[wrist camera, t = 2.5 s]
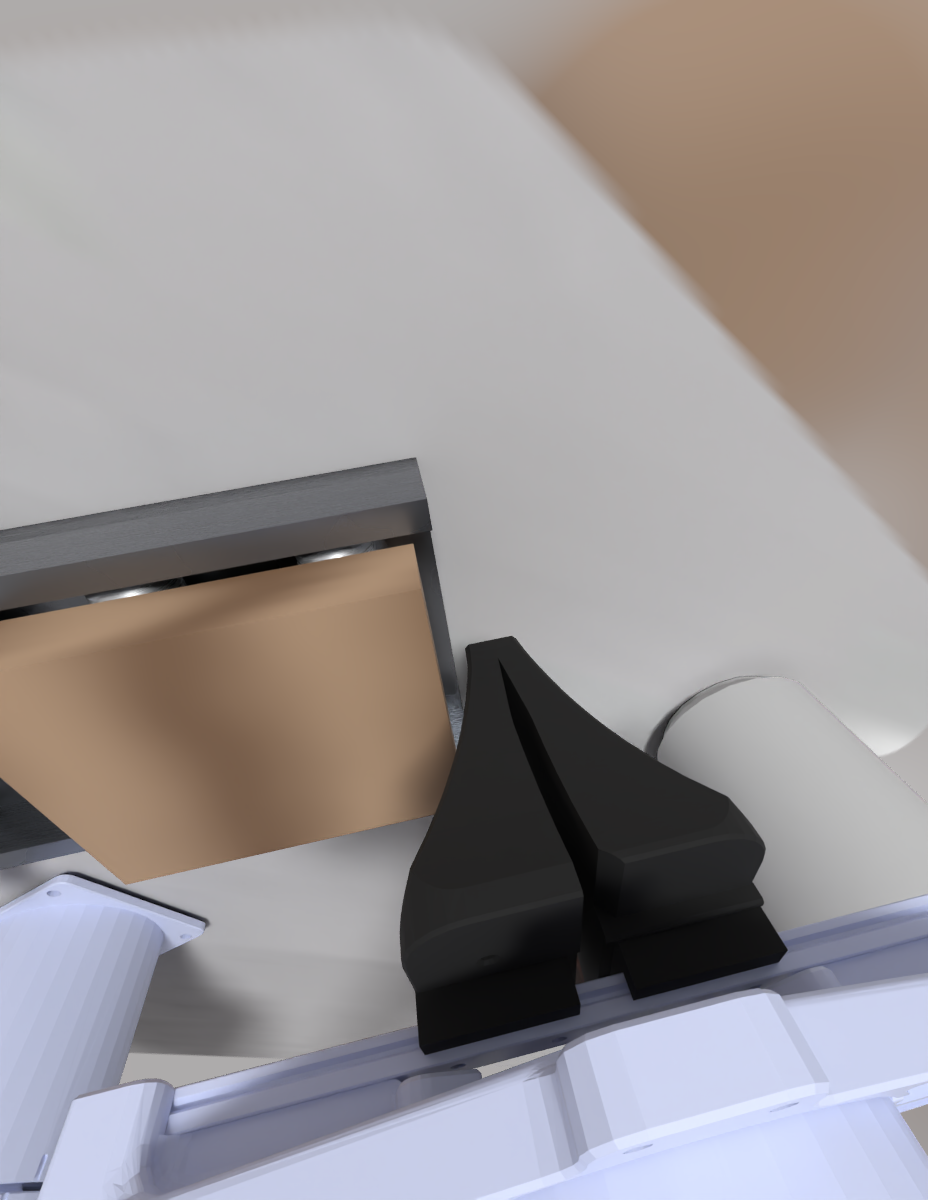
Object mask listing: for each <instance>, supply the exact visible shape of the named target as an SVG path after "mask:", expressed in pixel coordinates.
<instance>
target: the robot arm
mask: <svg viewBox="0 0 928 1200" xmlns="http://www.w3.org/2000/svg"><path fill="white" fill-rule="evenodd" d="M465 651H466V657H467V664H468V681H467V692H466V702H465V709H464V715H463V720H462V726H461V731H460V736H459V740H458V745H457V749H456V752H455V756H454V760H453V763H452V767H451V770H450V773H449V776H448V779H447V783H446V786H445V789H444V791H443V794H442V797H441V800H440V802H439V805H438V807H437V810H436V812H435V815H434V817H433V820H432V822H431V825H430V827H429V829H428V832H427V834H426V836H425V838H424V840H423V842H422V845H421V847H420V849H419V851H418V853H417V855H416V857H415V859H414V861H413V863H412V866H411V868H410V871H409V876H408V880H407V885H406V889H405V894H404V900H403V905H402V912H401V921H400V947H401V961H402V967H403V969H404V971H405V973H406V975H407V977H408V978H409V980H410V982H411V984H412V986H413V988H414V990H415V993H416V1008H417V1023H418V1025H417V1026H413V1027H409V1028H405V1029H401V1030H397V1031H393V1032H389V1033H386V1034H382V1035H378V1036H374V1037H370V1038H366V1039H362V1040H358V1041H354V1042H351V1043H347V1044H343V1045H339V1046H335V1047H331V1048H327V1049H323V1050H320V1051H316V1052H312V1053H308V1054H304V1055H300V1056H296V1057H292V1058H289V1059H285V1060H281V1061H277V1062H273V1063H269V1064H265V1065H261V1066H257V1067H254V1068H250V1069H246V1070H242V1071H238V1072H234V1073H231V1074H226V1075H223V1076H219V1077H215V1078H211V1079H207V1080H203V1081H199V1082H195V1083H192V1084H188V1085H184V1086H180V1087H176V1088H173V1086H172V1085H171V1084H169V1083H168V1082H167V1081H164V1080H161V1079H142V1080H136V1081H132V1082H128V1083H124V1084H120V1085H119V1083H120V1079H121V1076H122V1073H123V1070H124V1067H125V1063H126V1060H127V1057H128V1054H129V1050H130V1047H131V1044H132V1041H133V1037H134V1034H135V1031H136V1028H137V1024H138V1021H139V1018H140V1015H141V1011H142V1008H143V1005H144V1002H145V998H146V995H147V992H148V989H149V985H150V982H151V979H152V976H153V972H154V969H155V966H156V963H157V960H158V956H159V955H161V954H163V953H165V952H167V951H169V950H172V949H174V948H176V947H178V946H180V945H182V944H184V943H186V942H188V941H190V940H192V939H194V938H196V937H198V936H200V935H201V934H203V933H204V930H205V926H206V924H205V923H204V922H203V921H200V920H197V919H195V918H192V917H189V916H186V915H183V914H181V913H178V912H175V911H172V910H169V909H166V908H164V907H161V906H158V905H155V904H152V903H150V902H147V901H144V900H141V899H138V898H136V897H133V896H130V895H127V894H124V893H122V892H119V891H116V890H113V889H110V888H108V887H105V886H102V885H99V884H96V883H94V882H91V881H88V880H85V879H82V878H80V877H77V876H74V875H69V874H63V875H59V876H56V877H54V878H52V879H51V880H49V881H47V882H45V883H43V884H42V885H40V886H38V887H36V888H35V889H33V890H31V891H29V892H27V893H26V894H24V895H22V896H20V897H18V898H17V899H15V900H13V901H11V902H9V903H8V904H6V905H4V906H2V907H0V1200H928V1156H927V1155H926V1153H925V1152H924V1150H923V1149H922V1147H921V1145H920V1144H919V1143H918V1141H917V1139H916V1138H915V1136H914V1134H913V1133H912V1131H911V1130H910V1128H909V1127H908V1125H907V1124H906V1122H905V1120H904V1119H903V1117H902V1116H901V1114H900V1113H901V1112H904V1111H907V1110H911V1109H914V1108H917V1107H920V1106H923V1105H927V1104H928V894H925V895H921V896H917V897H913V898H909V899H905V900H902V901H898V902H894V903H890V904H886V905H882V906H878V907H874V908H871V909H867V910H863V911H859V912H855V913H851V914H847V915H843V916H839V917H836V918H832V919H828V920H824V921H820V922H816V923H812V924H808V925H805V926H801V927H797V928H793V929H789V930H785V931H781V932H776V930H775V928H774V927H773V925H772V924H771V922H770V920H769V919H768V917H767V916H766V914H765V912H764V911H763V909H762V908H761V906H763V904H764V900H763V897H762V896H761V894H760V893H759V891H758V889H757V888H756V886H755V885H754V883H753V882H752V881H753V880H754V878H755V876H756V874H757V872H758V870H759V868H760V866H761V864H762V862H763V859H764V855H765V851H766V847H765V844H764V841H763V840H762V838H761V837H760V835H759V834H758V833H757V831H756V830H755V828H754V827H753V825H752V824H751V823H750V822H749V820H748V819H747V818H746V817H745V816H744V814H743V813H742V812H741V811H740V810H739V809H738V807H737V806H736V805H735V804H734V803H733V802H732V801H731V799H730V798H729V797H728V796H726V795H724V794H722V793H719V792H717V791H715V790H713V789H711V788H709V787H707V786H705V785H703V784H701V783H699V782H696V781H694V780H692V779H690V778H688V777H686V776H684V775H682V774H680V773H679V772H677V771H675V770H673V769H671V768H670V767H668V766H666V765H664V764H662V763H661V762H659V761H657V760H656V759H654V758H653V757H651V756H649V755H648V754H646V753H645V752H643V751H641V750H640V749H638V748H636V747H635V746H633V745H632V744H630V743H628V742H627V741H625V740H624V739H623V738H621V737H620V736H618V735H617V734H616V733H614V732H613V731H611V730H610V729H608V728H607V727H606V726H604V725H603V724H602V723H601V722H599V721H598V720H597V719H595V718H594V717H593V716H592V715H590V714H589V713H588V712H587V711H585V710H584V709H583V708H582V707H581V706H580V705H578V704H577V703H576V702H575V701H574V700H573V699H572V698H570V697H569V696H568V695H567V694H566V693H565V692H564V691H563V690H562V689H561V688H560V687H559V686H558V685H557V684H556V683H555V682H554V681H553V680H552V679H551V678H550V677H549V676H548V675H547V674H546V673H545V672H544V671H543V670H542V669H541V668H540V667H539V666H538V665H537V664H536V663H535V661H534V660H533V659H532V658H531V657H530V656H529V655H528V653H527V652H526V651H525V650H524V649H523V647H522V646H521V645H520V643H519V642H518V641H517V639H516V638H514V637H513V636H509V637H504V638H499V639H494V640H489V641H484V642H479V643H474V644H469V645H468V646H467V647H466V648H465ZM577 954H578V958H579V962H580V966H581V970H582V974H583V977H584V981H585V982H583V983H580V984H576V966H577ZM564 1044H566V1045H565V1047H564V1048H563V1049H562V1050H559V1051H556V1052H553V1053H551V1054H548V1055H545V1056H542V1057H540V1058H537V1059H534V1060H531V1061H529V1062H526V1063H523V1064H520V1065H518V1066H515V1067H512V1068H509V1069H507V1070H504V1071H501V1072H499V1073H496V1074H493V1075H490V1076H488V1077H485V1078H482V1075H481V1073H480V1072H479V1071H478V1070H477V1069H473V1068H478V1067H481V1066H485V1065H489V1064H493V1063H496V1062H500V1061H504V1060H508V1059H511V1058H515V1057H519V1056H523V1055H526V1054H530V1053H534V1052H538V1051H542V1050H545V1049H549V1048H553V1047H557V1046H560V1045H564Z"/></svg>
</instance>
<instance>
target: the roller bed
mask: <svg viewBox="0 0 928 1200" xmlns="http://www.w3.org/2000/svg"><path fill="white" fill-rule="evenodd" d="M431 530H432V526H431V520H430V514H429V509H428V503H427V498H426V494H425V490H424V487H423V483H422V479H421V475H420V471H419V468H418V464H417V460H416V458H410V459H404V460H399V461H393V462H387V463H382V464H376V465H370V466H365V467H359V468H353V469H347V470H342V471H336V472H330V473H325V474H319V475H313V476H308V477H302V478H296V479H291V480H285V481H279V482H273V483H268V484H262V485H256V486H251V487H245V488H239V489H234V490H228V491H222V492H217V493H211V494H205V495H199V496H194V497H188V498H182V499H177V500H171V501H165V502H160V503H154V504H148V505H142V506H137V507H131V508H125V509H120V510H114V511H108V512H103V513H97V514H91V515H86V516H80V517H74V518H68V519H63V520H57V521H51V522H46V523H40V524H34V525H29V526H23V527H17V528H12V529H6V530H0V621H3V620H8V619H14V618H19V617H24V616H30V615H35V614H40V613H46V612H51V611H56V610H61V609H67V608H72V607H77V606H83V605H88V604H93V603H99V602H104V601H109V600H115V599H120V598H125V597H131V596H136V595H141V594H147V593H152V592H157V591H163V590H168V589H173V588H179V587H184V586H189V585H195V584H200V583H205V582H211V581H216V580H221V579H227V578H232V577H237V576H243V575H248V574H253V573H258V572H264V571H269V570H274V569H280V568H285V567H290V566H296V565H301V564H306V563H312V562H317V561H322V560H328V559H333V558H338V557H344V556H349V555H354V554H360V553H365V552H370V551H376V550H381V549H386V548H392V547H397V546H402V545H408V544H414V549H415V554H416V558H417V563H418V568H419V573H420V578H421V582H422V587H423V592H424V597H425V602H426V607H427V611H428V616H429V621H430V626H431V631H432V635H433V640H434V645H435V650H436V655H437V659H438V664H439V669H440V674H441V679H442V684H443V688H444V693H445V698H446V703H447V708H448V712H449V717H450V722H451V727H452V732H453V736H454V741H455V746H456V749H457V745H458V740H459V736H460V731H461V726H462V720H463V715H464V714H463V709H462V704H461V698H460V693H459V687H458V682H457V676H456V671H455V665H454V660H453V654H452V649H451V643H450V638H449V632H448V627H447V621H446V616H445V610H444V605H443V599H442V594H441V588H440V583H439V577H438V572H437V566H436V560H435V555H434V549H433V544H432V538H431V533H430V531H431ZM82 851H86V850H85V849H83V848H82V847H81V846H80V845H79V844H78V843H76V842H75V841H74V840H73V839H72V838H71V837H69V836H68V835H67V834H66V833H65V832H64V831H62V830H61V829H60V828H59V827H58V826H56V825H55V824H54V823H53V822H52V821H51V820H49V819H48V818H47V817H46V816H45V815H44V814H42V813H41V812H40V811H39V810H38V809H37V808H35V807H34V806H33V805H32V804H31V803H30V802H28V801H27V800H26V799H25V798H24V797H23V796H21V795H20V794H19V793H18V792H17V791H16V790H14V789H13V788H12V787H11V786H10V785H9V784H7V783H6V782H5V781H4V780H3V779H1V778H0V870H1V869H6V868H10V867H15V866H19V865H24V864H28V863H33V862H37V861H42V860H46V859H51V858H55V857H60V856H64V855H69V854H73V853H78V852H82Z"/></svg>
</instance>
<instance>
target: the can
mask: <svg viewBox="0 0 928 1200" xmlns="http://www.w3.org/2000/svg"><path fill="white" fill-rule="evenodd" d="M657 761H659V762H661V763H662V764H664V765H666V766H668V767H670V768H671V769H673V770H675V771H677V772H679V773H680V774H682V775H684V776H686V777H688V778H690V779H692V780H694V781H696V782H699V783H701V784H703V785H705V786H707V787H709V788H711V789H713V790H715V791H717V792H719V793H722V794H724V795H726V796H728V797H729V798H730V799H731V801H732V802H733V803H734V804H735V805H736V806H737V807H738V809H739V810H740V811H741V812H742V813H743V814H744V816H745V817H746V818H747V819H748V820H749V822H750V823H751V824H752V825H753V827H754V828H755V830H756V831H757V833H758V834H759V835H760V837H761V838H762V840H763V841H764V844H765V847H766V851H765V855H764V859H763V862H762V864H761V866H760V868H759V870H758V872H757V874H756V876H755V878H754V880H753V881H752V882H753V883H754V885H755V886H756V888H757V889H758V891H759V893H760V894H761V896H762V897H763V900H764V904H763V906H761V908H762V909H763V911H764V912H765V914H766V916H767V917H768V919H769V920H770V922H771V924H772V925H773V927H774V928H775V930H776V932H781V931H785V930H789V929H793V928H797V927H801V926H805V925H808V924H812V923H816V922H820V921H824V920H828V919H832V918H836V917H839V916H843V915H847V914H851V913H855V912H859V911H863V910H867V909H871V908H874V907H878V906H882V905H886V904H890V903H894V902H898V901H902V900H905V899H909V898H913V897H917V896H921V895H925V894H928V803H927V802H926V801H925V800H924V799H923V798H922V797H921V796H920V795H919V794H918V793H917V792H915V791H914V790H913V789H912V788H911V787H910V786H909V785H908V784H907V783H906V782H905V781H904V780H903V779H902V778H901V777H900V776H898V775H897V774H896V773H895V772H894V771H893V770H892V769H891V768H890V767H889V766H888V765H887V764H886V763H885V762H884V761H883V760H881V759H880V758H879V757H878V756H877V755H876V754H875V753H874V752H873V751H872V750H871V749H870V748H869V747H868V746H867V745H866V744H864V743H863V742H862V741H861V740H860V739H859V738H858V737H857V736H856V735H855V734H854V733H853V732H852V731H851V730H850V729H849V728H847V727H846V726H845V725H844V724H843V723H842V722H841V721H840V720H839V719H838V718H837V717H836V716H835V715H834V714H833V713H832V712H830V711H829V710H828V709H827V708H826V707H825V706H824V705H823V704H822V703H821V702H820V701H819V700H818V699H817V698H816V697H815V696H813V695H812V694H811V693H810V692H809V691H808V690H807V689H806V688H805V687H804V686H803V685H802V684H801V683H800V682H799V681H795V680H791V679H788V678H784V677H764V678H762V677H758V676H750V677H737V678H734V679H730V680H727V681H723V682H720V683H717V684H715V685H713V686H711V687H709V688H707V689H705V690H703V691H701V692H699V693H698V694H697V695H695V696H694V697H693V698H691V699H690V700H689V701H687V702H686V703H685V704H683V705H682V706H681V707H680V709H679V710H678V711H677V712H676V713H675V714H674V716H673V717H672V718H671V719H670V721H669V723H668V725H667V727H666V729H665V731H664V738H663V740H662V742H661V744H660V746H659V748H658V752H657Z"/></svg>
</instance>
